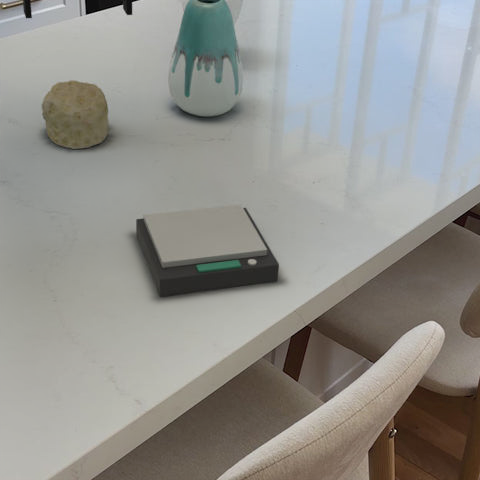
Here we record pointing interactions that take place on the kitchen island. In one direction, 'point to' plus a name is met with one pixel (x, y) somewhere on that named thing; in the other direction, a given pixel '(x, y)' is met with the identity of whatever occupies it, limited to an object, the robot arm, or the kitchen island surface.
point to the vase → (206, 60)
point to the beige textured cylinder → (75, 114)
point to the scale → (205, 250)
